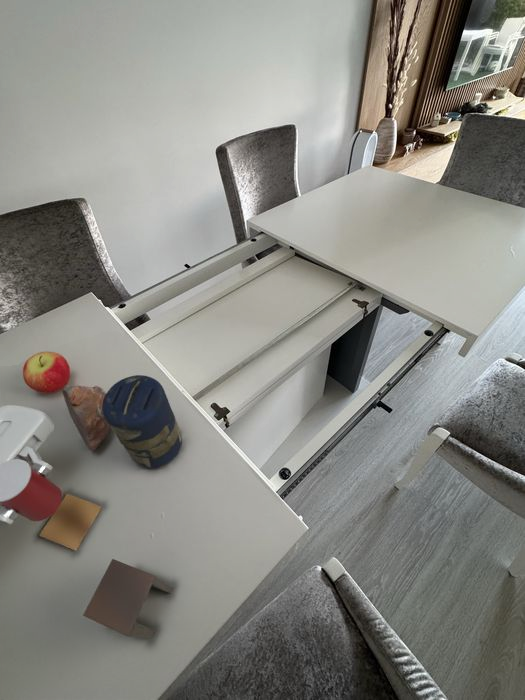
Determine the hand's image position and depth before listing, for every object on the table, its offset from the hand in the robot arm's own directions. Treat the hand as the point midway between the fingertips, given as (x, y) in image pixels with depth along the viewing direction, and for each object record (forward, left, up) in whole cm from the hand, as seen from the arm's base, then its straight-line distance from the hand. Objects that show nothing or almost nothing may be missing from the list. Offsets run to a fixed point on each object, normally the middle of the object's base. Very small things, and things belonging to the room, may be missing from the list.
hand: (31, 492), depth 46 cm
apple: (+22, +22, -15) cm, 34 cm away
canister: (+16, -6, -15) cm, 23 cm away
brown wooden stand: (-6, -16, -14) cm, 23 cm away
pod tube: (0, +1, -5) cm, 5 cm away
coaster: (0, +1, -14) cm, 15 cm away
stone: (+17, +7, -15) cm, 23 cm away
